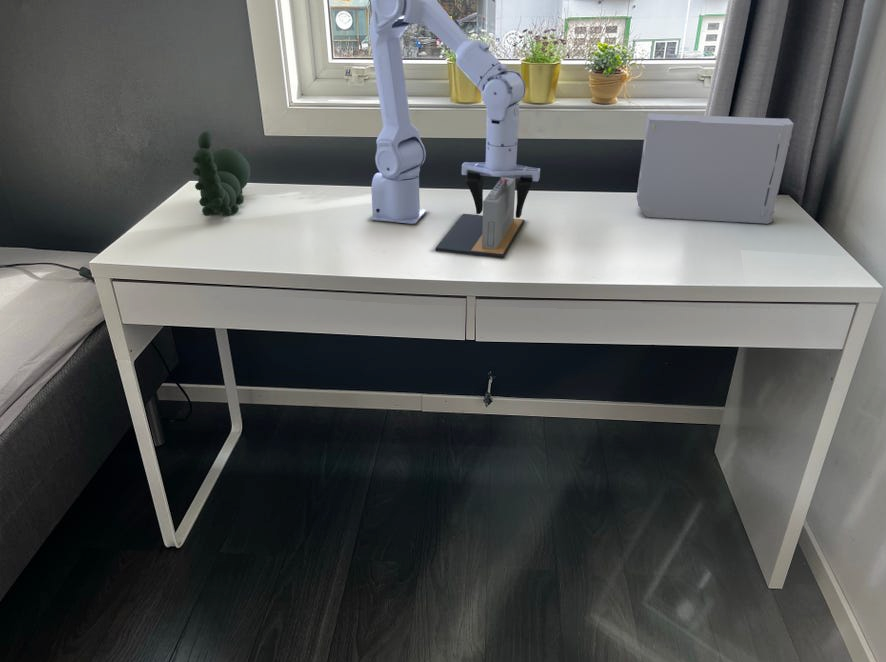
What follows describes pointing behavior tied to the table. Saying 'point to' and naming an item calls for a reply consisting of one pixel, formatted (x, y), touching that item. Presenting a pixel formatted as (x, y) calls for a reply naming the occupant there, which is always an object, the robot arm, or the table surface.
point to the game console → (712, 167)
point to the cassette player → (498, 213)
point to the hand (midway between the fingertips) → (498, 214)
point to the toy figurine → (220, 177)
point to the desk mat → (476, 237)
